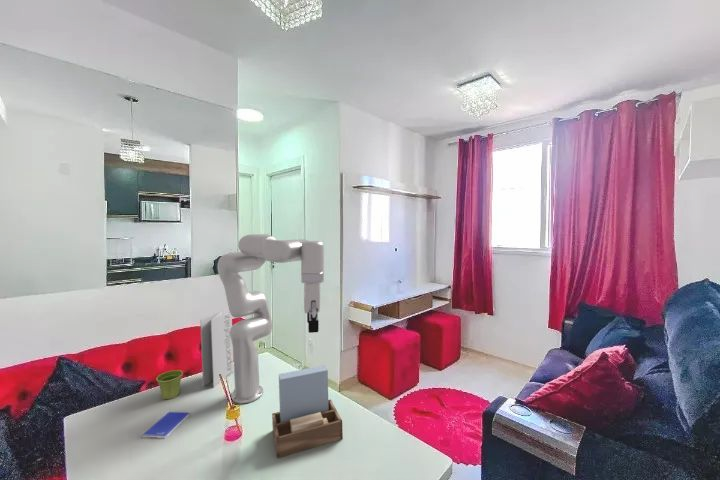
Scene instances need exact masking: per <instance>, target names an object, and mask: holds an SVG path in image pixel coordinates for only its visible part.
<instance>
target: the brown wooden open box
mask: <svg viewBox="0 0 720 480" xmlns="http://www.w3.org/2000/svg"><path fill="white" fill-rule="evenodd" d="M328 406H329V411H326V412H322V413H321V415H322V417H323V418H327V421H328V423H327V424H323V425H320V426H316V427H312V428H309V429H305V430H301V431H297V432H294V433H290V421H287V422H283V423H280V411H277V412H273V413H272V414H271V417H272V421H271V422H272V435H273V440H274V447H275V448H274V449H275V453H276V458H277V459H280V458H283V457H286V456H290V455H293V454H297V453H300V452H302V451H306V450H307V451H308V450H310V449H313V448H317V447H320V446H323V445H324V446H325V445H326V444H330V443H333V442H334V443H335V442H337V441H340V440H343V434H344V433H343V420H342V418H341V417H340V414H339V412H338V411H337V408H336V407H335V405H334V402H333V401H332V399H328Z"/></svg>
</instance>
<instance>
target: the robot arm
mask: <svg viewBox="0 0 720 480" xmlns="http://www.w3.org/2000/svg"><path fill="white" fill-rule="evenodd" d="M237 246H238V249H239V251H234V252H229V253H225V254H223V255H221V256H220V257H219V258H218V262H217V273H218V276H219V278H220V280H221V283H222V285H223V288H224V291H225V297H226V302H227V306H228V311H229V312H230V314H231V316H232V318H234V319H236V318H237V319H239V318H243V317H247V316H251V315H253V317H248V318H245V319H242V320H240V321H237V322H236V323H234V324H232V327H231V329H230V337H231V341H232V346H233V365H234V372H233V373H234V374H233V376H234V390H233V391H232V393H231V395H230V399H231V398H232V400H233V401H232V400H231V401H232V402H233V403H235V404H248V403H251V402H254V401H257V400H258V399H260V398H261V397H262V396H263V394H264V388H263V387H262V385H260V371H259V368H260V367H259V366H260V365H259V351H258V348H257V347H256V346H255V344H254V343H253V342H255V341H258V340H259V339H262V338H265V337H267V336H269V335H270V334H271V333H272V332H273V321H272V316H271V312H270V307H269V304H268V303H269V302H268V300H267V297H266V295H265V294H264V293H263V292H262V291H260V290H254V291H248V288H247V283H246V281H245V279H244V278H243V277H242V276H241V275H240V274H238V273H242V272H243V273H244V272H250V271H255V270H256V271H257V270H258V269H260V268H262V266H263V265H264V264H265V263H266V262H273V263H279V264H282V263H283V264H284V263H292V262H299V261H300V273H301V274H300V275H301V278H300V279H301V281H300V282H301V283H302V284H304V285H303V286H304V287H303V311H304V314H307V315H306V319H307V320H306V321H307V322H306V323H308V330H307V331H308V333H309V334H311V333H319V329H320V328H319V325H320V324H319V322H320V321H319V316H318V314H319V312H320V311H321V310H320V308H321V283H323V282H324V281H325V279H324V277H325V273H324V271H325V270H324V268H325V267H324V266H325V265H324V264H325V262H324V257H325V255H324V254H325V251H324V250H325V248H324V242H322V241H319V240H307V239H302V238H300V239H286V240H285V239H282V240H279V239H278V240H277V238H275V237H274V236H272V235H270V234H267V233H257V234H254V233H253V234H246V235H244V236H241V238H240V239H239V241H238V244H237Z"/></svg>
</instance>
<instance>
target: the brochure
mask: <svg viewBox="0 0 720 480" xmlns="http://www.w3.org/2000/svg"><path fill="white" fill-rule="evenodd" d="M232 318H233V317H232V316H231V314H230V311H229V312H226V313H224V314H223V310H220V311H218V312H215V313H213V314H211V315H210V314H209V316H206V317H204V318H203V317H202V319H200V320H199V322H200V343H201V345H200V346H201V367H202V368H201V369H202V372H201V373H202V386H203V387H205V386H207V385H209V383H211V382H212V388H216V387H217V386H218V385H219V384H221V383H222V382H220V379H219V374H221V375H222V377H223V378H224V380H226V379H227V378H228V377H230V376H231V375H232V374H233V373H234V355H233V346H232V341H231V337H230V329H231V327H232V326H233V319H232Z"/></svg>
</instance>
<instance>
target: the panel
mask: <svg viewBox="0 0 720 480" xmlns="http://www.w3.org/2000/svg"><path fill="white" fill-rule="evenodd" d="M328 377H329V374H328V368H327V366H326V365H325V364H324V365H320V366H313V367H310V368H309V367H308V368H304V369H303V368H302V369H299V370H294V371H288V372H283V373H279V374H278V389H279V390H278V394H279V398H278V399H279V400H278V401H279V412H280V423H283V422H287V421H290V420H291V419H295V418H299V417H303V416H307V415H311V414H315V413H319V412H320V413H322V412H326V411H329V406H328V400H329V378H328Z"/></svg>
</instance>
